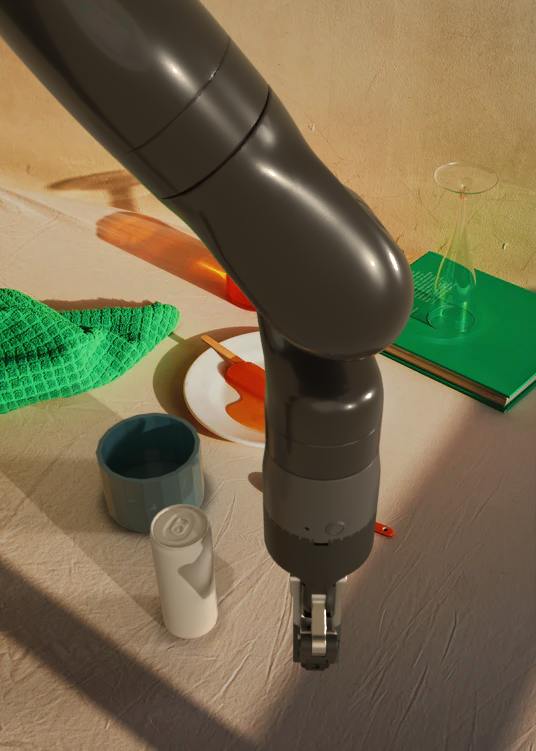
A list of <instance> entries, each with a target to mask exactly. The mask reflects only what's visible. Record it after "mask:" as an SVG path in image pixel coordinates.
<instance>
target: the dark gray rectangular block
mask: <svg viewBox="0 0 536 751" xmlns="http://www.w3.org/2000/svg"><path fill="white" fill-rule="evenodd" d="M300 602H301V603H302V591H301V592H300ZM342 618H343V617H341V623H340V625H339V626H336V627H335V628H334V630H336V634H337V637H338V640H340V645H341V642H342V630H343V629H342V628H343V620H342ZM307 628H311V626H308V627H307ZM307 628H306V629H307ZM298 633H299V634H300V627H299V626H297V625H295V624H294V622H293V621H292V662H293V663H300V658H298V650H299V651H300V647H298ZM340 657H341V647H340V648H338V653H337V656H336V659H335V662H334V664H339V663H340Z"/></svg>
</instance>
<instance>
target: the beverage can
mask: <svg viewBox="0 0 536 751" xmlns="http://www.w3.org/2000/svg"><path fill="white" fill-rule="evenodd" d="M149 541H150V542H149V543H150V547H151V553H152V560H153V566H154V571H155V577H156V583H157V589H158V597H159V601H160V602H159V603H160V607H161V608H160V609H161V613H162V619H163V624H164V627H165V628H166V630H167V631H169V633H171V634H172V635H173V636H175V637H178V638H181V639H186V640H187V639H188V640H190V639H191V640H192V639H196V638H200V637H202V636H204V635H206V634H208V633H209V632H210V631H211V630H212V629H213V628H214V626H216V624H217V621H218V617H219V610H218V599H217V587H216V576H215V574H216V573H215V560H214V542H213V532H212V526H211V523H210V520H209V517H208V516H207V514H206V513H205V511H204V510H203V509H201V507H200V508H198V507H196V506H193V505H188V504H177V505H172V506H169V507H167V508H164V509H163V510H161V511H160V512H159V513H158V514H157V515H156V516H155V517H154V519H153V521H152V523H151V528H150V533H149Z"/></svg>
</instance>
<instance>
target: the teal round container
mask: <svg viewBox="0 0 536 751" xmlns="http://www.w3.org/2000/svg"><path fill="white" fill-rule="evenodd" d="M201 445H202V444H201V438H200V436H199V433H198V431H197V429H196V428H195V427H194V426H193V425H192V424H191V423H190V422H189V421H188V420H186V419H184V418H182V417H179V416H177V415H175V414H171V413H163V412H147V413H140V414H139V413H138V414H136V415H135V414H134V415H132V416H130V417H127V418H124V419H122V420H120V421H118V422H116V423H115V424H114V425H112V426H111V427H109V428H108V429H107V430H106V431H105V432H104V433H103V434H102V436H101V437H100V438H99V440H98V443H97V446H96V449H95V456H96V460H97V466H98V470H99V475H100V480H101V484H102V489H103V495H104V499H105V502H106V508H107V510H108V511H107V512H108V513H109V515H110V516H111V518H112V519H113V520H114V522H116V523H117V524H118V525H120V526H121V527H123V528H125V529H127V530H129V531H133V532H136V533H143V534H144V533H145V534H150V528H151V523H152V521H153V519H154V517H155V516H156V515H157V514H158V513H159V512H160V511H161V510H163V509H164V508H167V507H169V506H172V505H177V504H188V505H193V506H196V507H198V508H200V509H201V506H202V504H203V503H204V502H203V501H204V498H205V497H204V496H205V480H204V479H205V476H204V466H203V455H202V446H201Z"/></svg>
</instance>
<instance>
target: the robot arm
mask: <svg viewBox="0 0 536 751" xmlns="http://www.w3.org/2000/svg"><path fill="white" fill-rule="evenodd" d="M0 39H1V40H2V41H3V42H4V43H5V44H6V45H7V46H8V48H9V49H10V50H11V51H12V53H14V55H15V56H16V57H17V58H18V59H19V60H20V61H21V62H22V64H23V65H24V66H25V67H26V68H27V70H29V71H30V73H31V74H32V75H33V76H34V77H35V78H36V79H37V81H38V82H39V83H40V84H41V85H42V86H43V87H44V88H45V89H46V90H47V92H48V93H49V94H50V95H51V96H52V97H53V98H54V99H55V100H56V102H58V103H59V104H60V106H62V108H64V110H65V111H66V112H67V113H68V114H69V115H70V116H71V117H72V118H73V119H74V120H75V121H76V122H77V123H78V124H79V125H80V126H81V128H83V129H84V130H85V131H86V132H87V133H88V134H89V135H90V136H91V137H92V138H93V139H94V141H96V142H97V143H98V144H99V145H100V146H101V147H102V148H103V149H104V151H106V152H107V153H108V154H109V155H110V156H111V157H113V158H114V160H116V161H117V163H119V164H120V165H121V166H122V167H123V168H124V170H126V171H127V172H128V173H129V174H130V175H131V176H132V177H134V178H135V179H136V180H137V181H138V182H139V184H141V185H142V186H143V187H144V188H145V189H146V190H147V191H148V192H149V193H150V194H151V195H152V196H154V198H155V199H156V200H157V201H158V202H159V203H161V204H162V205H163V206H164V207H165V208H166V209H168V210H169V211H170V212H172V213H173V214H174V215H175V216H176V217H178V218H179V219H180V220H181V221H182V222H183V223H184V224H185V225H186V226H187V227H188V228H189V229H191V231H192V232H193V234H194V235H196V237H197V238H198V239H199V240H200V242H202V243H203V245H204V247H205V248H206V249H207V250H208V251H209V253H210V254H211V255H212V257H213V258H214V259H215V261H216V262H217V264H218V265H219V266H220V267H221V269H222V270H223V271H224V272H225V273H226V275H227V276H228V277H229V278H230V279H231V281H232V282H233V283H234V284H235V286H236V287H237V288H238V289H239V291H240V292H241V293H242V294H243V296H245V298H246V299H247V300H248V301H249V302H250V304H251V305H252V306H253V308H254V309H255V311H256V317H257V318H256V319H257V326H258V332H259V338H260V339H259V340H260V344H261V350H262V354H263V355H262V356H263V364H264V379H265V380H264V396H263V401H264V402H263V403H264V404H263V407H264V408H263V413H264V414H263V416H264V450H263V455H262V463H261V480H262V482H261V484H262V516H263V517H262V518H263V520H262V521H263V540H264V545H265V548H266V551H267V553H268V554H269V556H270V557H271V559H272V560H273V562H274V563H275V564H276V565H277V566H279V568H281V569H282V570H284V571H285V572H287V573H288V574H289V594H290V595H291V596H292V604H293V605H292V623H293V622H294V624H295V625H297V626H299V627H300V634H299V633H298V647H300V651H299V650H298V658H300V662H299V664H300V667H301V668H302V669H305V671H311V672H312V671H316V672H324V671H325V670H326V669H329V668H330V665H334V664H335V663H334V662H335V659H336V656H337V653H338V648H340V649H341V644H340V640H338V637H337V634H336V630H334V628H335V627H336V626H339V625H340V623H341V618H342V612H343V611H342V608H343V598H344V597H345V596H346V594H347V583H348V582H347V580H348V579H347V576H350V575H351V574H353V573H354V572H356V571H357V570H358V569H360V568H361V567H362V566H363V565H364V564H365V562H366V561H367V560H368V559H369V557H370V556H371V553H372V550H373V548H374V542H375V533H376V525H377V524H376V523H377V514H378V506H379V495H380V486H381V471H382V470H381V469H382V467H381V465H382V464H381V454H380V445H381V435H382V425H383V424H382V423H383V416H384V406H385V404H384V402H385V391H384V382H383V376H382V372H381V369H380V367H379V363H378V362H377V358H376V355H378V354H380V353H382V352H383V351H385V350H386V349H387V348H389V347H390V346H392V344H394V342H395V341H396V340H397V339H398V338H399V337H400V335H401V334H402V333H403V331H404V330H405V328H406V326H407V324H408V322H409V320H410V318H411V314H412V311H413V308H414V301H415V283H414V276H413V271H412V268H411V265H410V263H409V260H408V258H407V256H406V255H405V253H404V251H403V249H402V248H401V246H400V245H399V244H398V242H397V240H396V239H395V238H394V237H393V236H392V234H391V233H390V232H389V231H388V229H387V228H386V226H385V225H384V224H383V222H382V221H381V220H380V218H379V217H378V216H377V215H376V213H375V212H374V210H372V208H371V207H370V205H368V203H367V202H366V201H365V199H363V198H362V197H361V195H359V194H358V193H357V192H356V191H354V190H353V189H351V188H350V187H348V186H347V185H344V184H343V183H342V182H341V181H340V180H339V179H338V177H337V176H336V175H335V174H334V173H333V172H332V170H330V168H329V167H328V166H327V165H326V164H325V163H324V162H323V160H321V158H320V157H319V156H318V155H317V154H316V152H315V151H314V150H313V149H312V148H311V145H310V144H309V143H308V142H307V140H306V138H305V137H304V135H303V133H302V132H301V129H300V128H299V126H298V125H297V123H296V121H295V120H294V118H293V117H292V115H291V114H290V112H289V111H288V109H287V108H286V105H284V103H283V101H282V99H281V98H280V96H278V94H277V93H276V92H275V91H274V89H273V88H272V87H271V85H270V84H269V83H268V82H267V80H266V79H265V77H264V76H263V75H262V74H261V73H260V71H258V70H259V69H257V68H256V67H255V65H254V64H253V63H252V62H251V60H250V59H249V58H248V57H247V55H246V54H245V53H244V52H243V51H242V49H241V48H240V47H239V46H238V45H237V43H236V42H235V41H234V39H233V38H232V37H231V36H230V35H229V33H227V31H226V30H225V29H224V27H223V26H222V25H221V24H220V22H218V20H217V19H216V18H215V16H214V15H213V14H212V13H211V11H209V9H208V8H207V7H206V6H205V5H204V3H202V2H201V1H200V0H0ZM301 591H302V603H301V602H300V592H301ZM308 626H311V628H307V627H308ZM306 628H307V629H306Z"/></svg>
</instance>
